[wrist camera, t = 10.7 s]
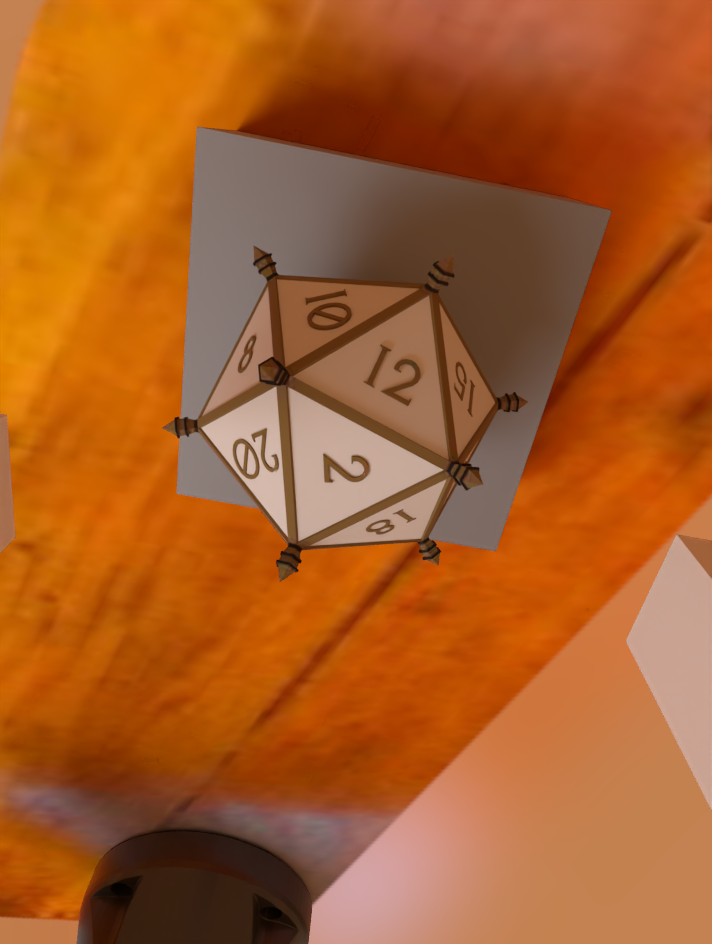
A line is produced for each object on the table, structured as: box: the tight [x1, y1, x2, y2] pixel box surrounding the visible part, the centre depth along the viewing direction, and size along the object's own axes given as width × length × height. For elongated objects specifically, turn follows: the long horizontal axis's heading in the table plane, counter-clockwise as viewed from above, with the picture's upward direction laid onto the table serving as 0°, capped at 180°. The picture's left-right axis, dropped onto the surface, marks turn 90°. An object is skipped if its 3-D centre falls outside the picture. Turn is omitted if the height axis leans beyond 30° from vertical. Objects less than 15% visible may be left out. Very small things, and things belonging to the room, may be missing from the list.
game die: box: [162, 245, 528, 582], centre depth 17 cm, size 9×8×10 cm
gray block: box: [177, 127, 612, 551], centre depth 23 cm, size 12×12×5 cm
